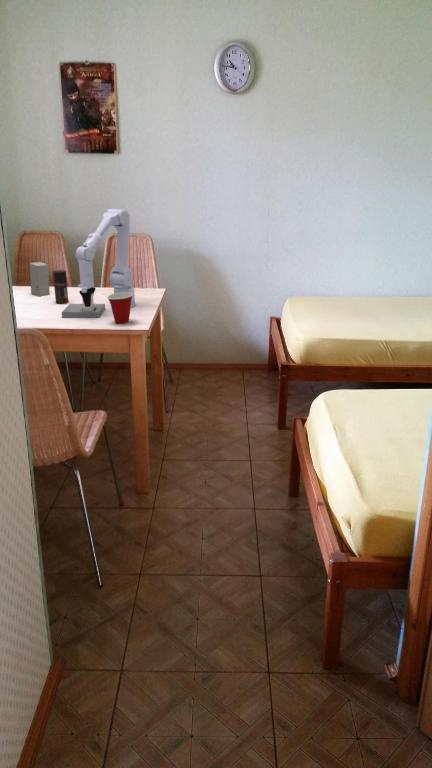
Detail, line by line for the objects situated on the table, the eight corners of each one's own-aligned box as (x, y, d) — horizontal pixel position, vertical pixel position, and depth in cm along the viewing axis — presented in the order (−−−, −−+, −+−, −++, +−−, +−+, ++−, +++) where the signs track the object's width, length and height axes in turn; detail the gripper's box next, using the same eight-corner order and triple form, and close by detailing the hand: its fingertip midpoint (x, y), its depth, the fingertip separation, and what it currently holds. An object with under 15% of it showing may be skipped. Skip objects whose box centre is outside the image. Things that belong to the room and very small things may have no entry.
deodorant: (65, 304, 294) (62, 272, 289) (53, 303, 295) (50, 272, 290) (70, 301, 300) (67, 270, 295) (59, 301, 301) (56, 270, 296)
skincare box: (30, 294, 315) (27, 263, 310) (43, 292, 320) (40, 261, 314) (38, 296, 309) (35, 265, 304) (51, 294, 314) (48, 263, 308)
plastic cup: (109, 319, 268) (108, 291, 264) (134, 318, 269) (133, 291, 265) (107, 325, 258) (105, 297, 254) (133, 325, 259) (131, 297, 255)
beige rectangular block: (94, 310, 276) (92, 293, 274) (92, 313, 273) (91, 295, 270) (85, 310, 276) (83, 293, 274) (83, 313, 273) (82, 295, 270)
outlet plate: (105, 309, 285) (104, 303, 284) (98, 317, 270) (98, 312, 269) (70, 309, 285) (70, 303, 285) (62, 317, 270) (61, 312, 270)
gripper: (80, 271, 276) (83, 301, 280) (73, 277, 262) (76, 309, 267) (96, 271, 275) (98, 301, 280) (90, 277, 262) (92, 309, 267)
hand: (88, 305), depth 273 cm, fingers closed on beige rectangular block, 4 cm apart
